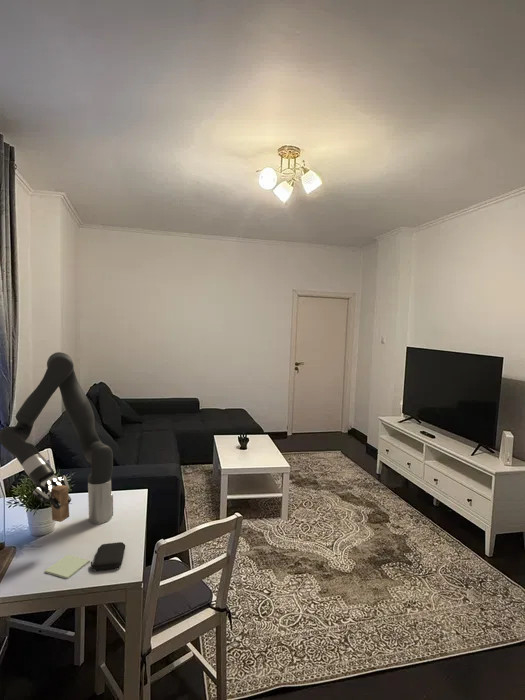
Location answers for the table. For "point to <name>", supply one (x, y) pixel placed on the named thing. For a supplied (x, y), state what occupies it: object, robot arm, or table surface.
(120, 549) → the carrying case or bag
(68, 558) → the sage mat
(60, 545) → the table surface
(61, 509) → the walnut handle block
